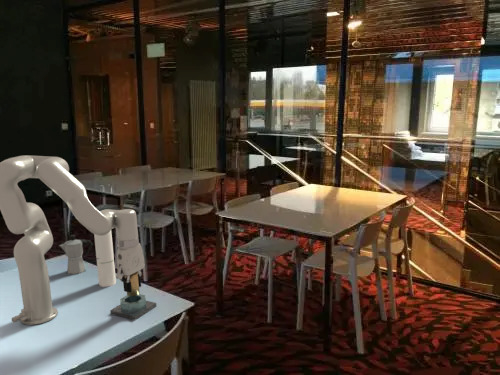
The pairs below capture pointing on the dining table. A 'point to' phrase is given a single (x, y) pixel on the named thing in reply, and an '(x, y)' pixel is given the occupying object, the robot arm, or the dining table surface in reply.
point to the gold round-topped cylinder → (134, 285)
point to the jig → (133, 307)
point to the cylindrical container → (105, 260)
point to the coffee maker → (75, 254)
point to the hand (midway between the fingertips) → (132, 288)
